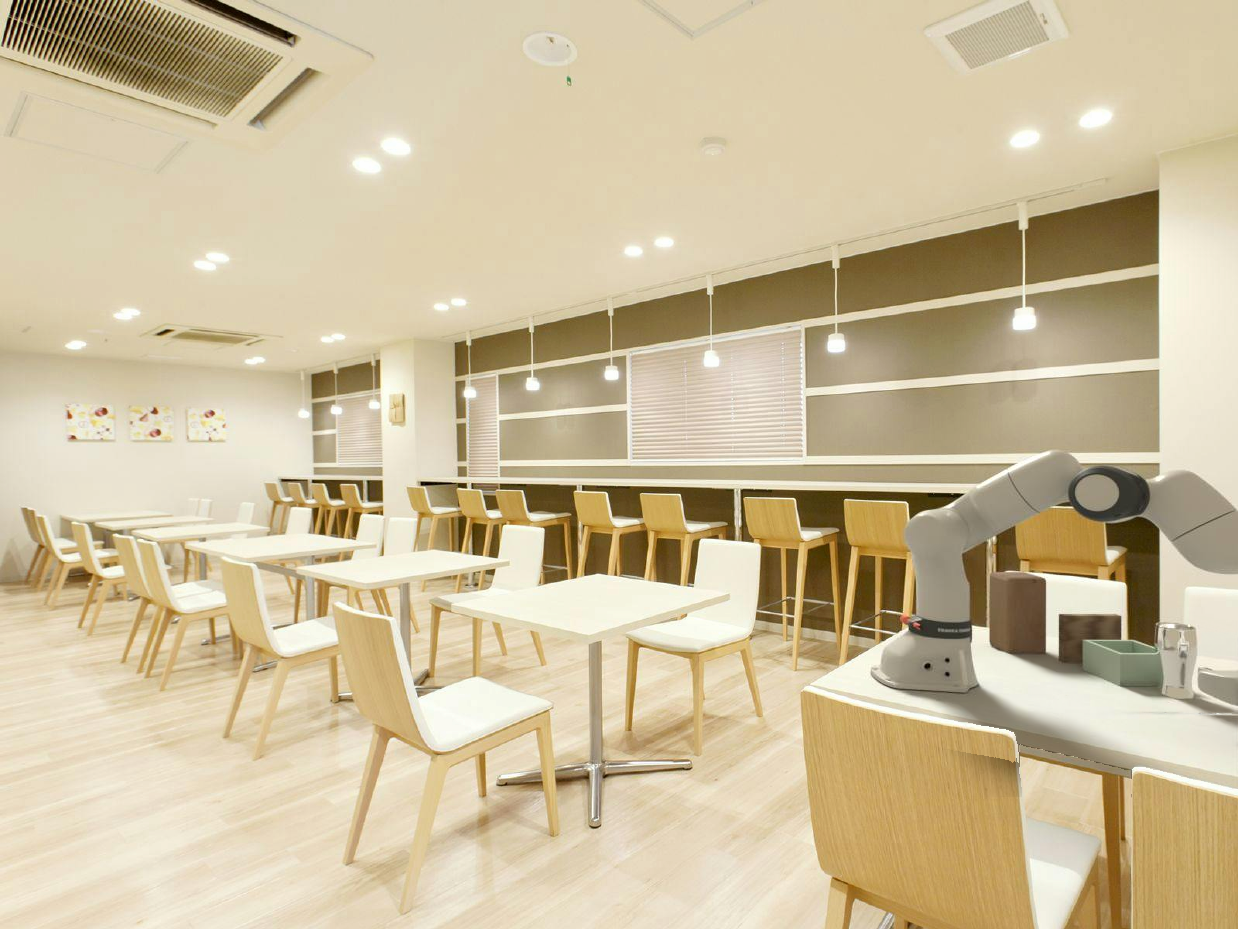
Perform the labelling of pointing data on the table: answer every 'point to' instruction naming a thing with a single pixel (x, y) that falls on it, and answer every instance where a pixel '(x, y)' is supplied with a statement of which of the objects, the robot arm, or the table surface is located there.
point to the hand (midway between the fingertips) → (1225, 671)
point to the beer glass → (1175, 659)
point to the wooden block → (1017, 612)
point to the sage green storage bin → (1121, 662)
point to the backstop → (1085, 633)
